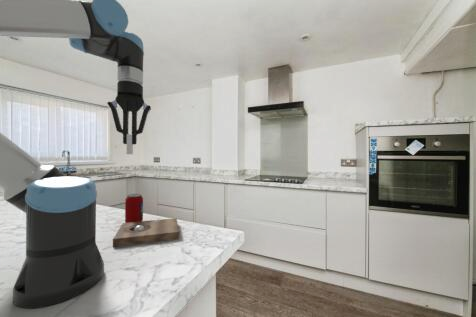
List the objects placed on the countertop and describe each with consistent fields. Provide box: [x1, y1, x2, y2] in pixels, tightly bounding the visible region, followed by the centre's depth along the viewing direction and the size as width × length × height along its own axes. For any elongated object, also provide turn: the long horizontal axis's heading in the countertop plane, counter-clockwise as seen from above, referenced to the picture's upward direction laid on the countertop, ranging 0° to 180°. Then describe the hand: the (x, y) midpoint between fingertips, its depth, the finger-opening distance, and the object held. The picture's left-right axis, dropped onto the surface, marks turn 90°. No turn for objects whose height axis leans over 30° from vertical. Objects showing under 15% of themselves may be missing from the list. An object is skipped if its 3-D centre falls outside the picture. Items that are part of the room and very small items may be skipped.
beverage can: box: [124, 193, 144, 223], centre depth 85 cm, size 7×7×12 cm
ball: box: [134, 225, 144, 231], centre depth 73 cm, size 4×4×4 cm
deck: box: [112, 217, 180, 248], centre depth 74 cm, size 20×16×2 cm
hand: (129, 154), depth 67 cm, fingers closed
